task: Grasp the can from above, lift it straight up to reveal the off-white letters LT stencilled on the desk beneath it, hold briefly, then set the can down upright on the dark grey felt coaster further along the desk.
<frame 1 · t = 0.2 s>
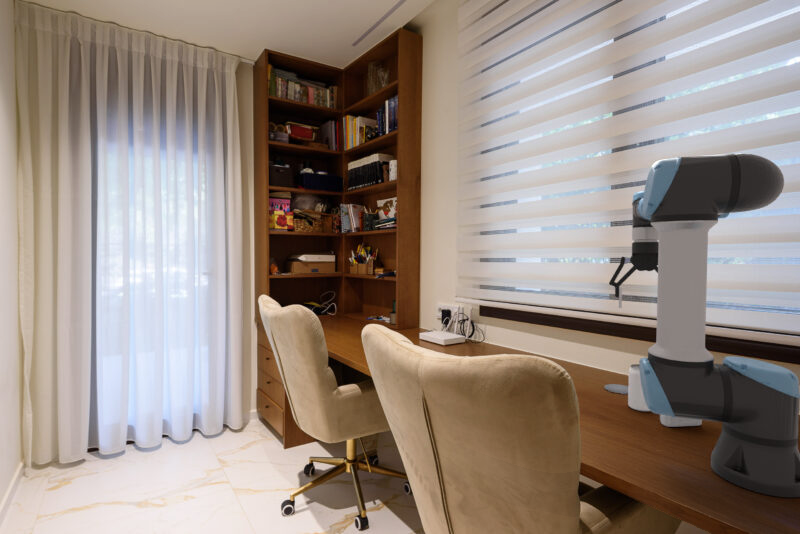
hand: (644, 308, 135), 27 cm above the table, tool pointing down, fingers open, 13 cm apart
photo printer: (680, 425, 112), on the table
can: (640, 408, 124), on the table, touching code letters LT
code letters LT: (640, 408, 124), on the table
felt coaster: (619, 389, 140), on the table
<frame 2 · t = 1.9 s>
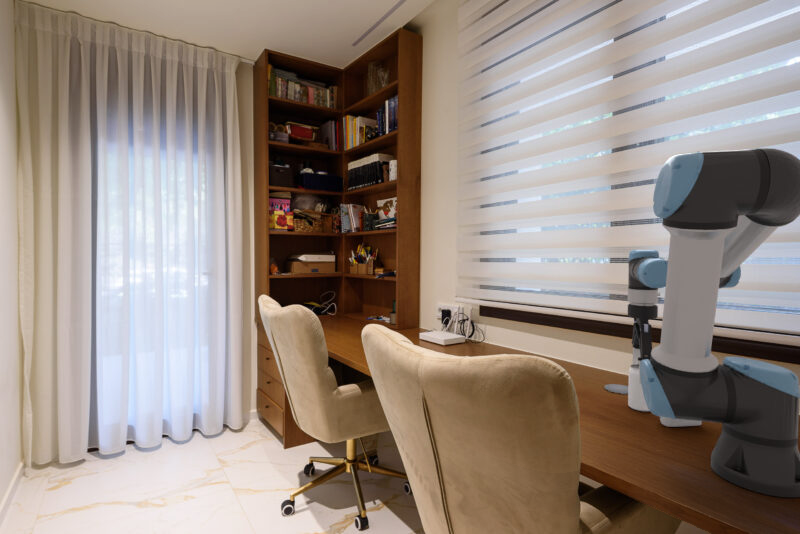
hand: (641, 376, 124), 9 cm above the table, tool pointing down, fingers open, 13 cm apart
nothing on the table moved.
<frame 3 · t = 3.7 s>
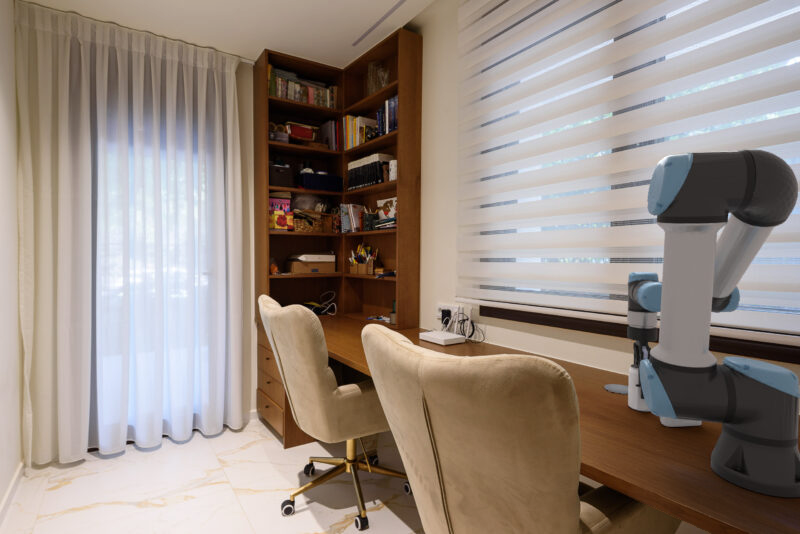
hand: (640, 405, 124), 1 cm above the table, tool pointing down, fingers closed on can, 6 cm apart
can: (640, 408, 124), on the table, touching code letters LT, gripper
everything else where it was.
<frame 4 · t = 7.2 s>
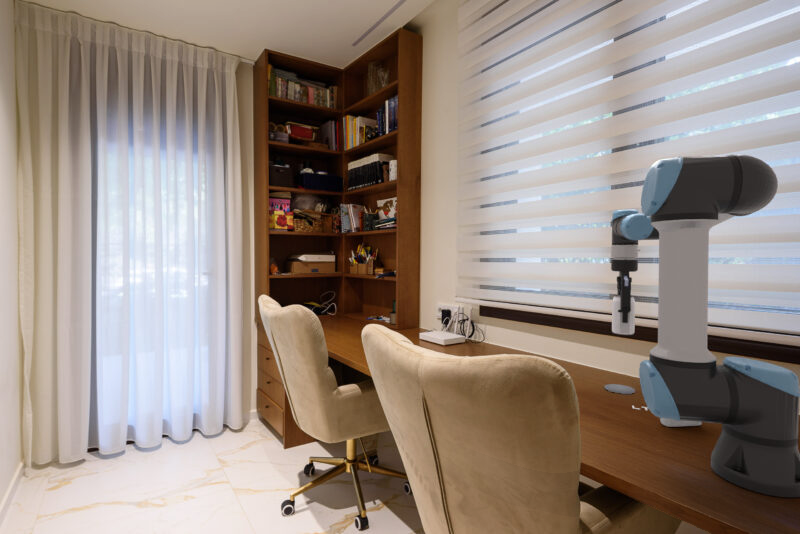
hand: (623, 330, 137), 20 cm above the table, tool pointing down, fingers closed on can, 6 cm apart
can: (623, 333, 137), point 19 cm above the table, touching gripper
everything else where it was.
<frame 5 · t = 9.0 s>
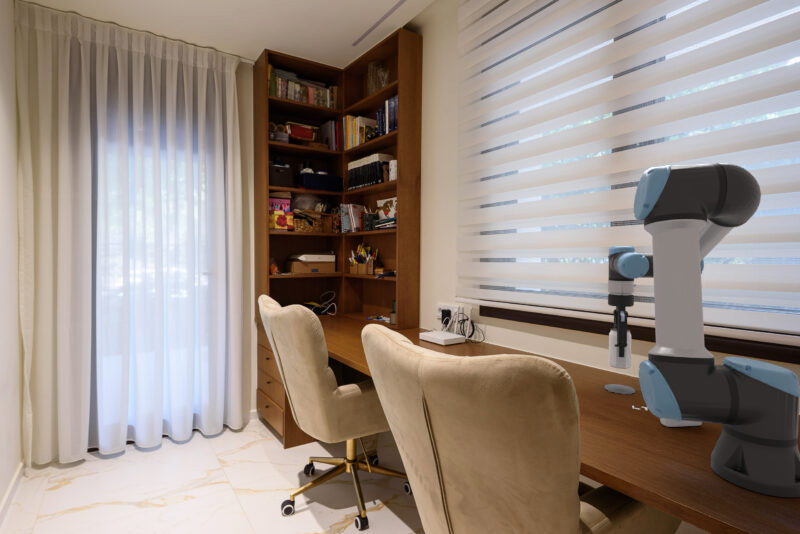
hand: (619, 363, 140), 9 cm above the table, tool pointing down, fingers closed on can, 6 cm apart
can: (619, 366, 140), point 8 cm above the table, touching gripper
everything else where it was.
when the fingers open (3 cm above the table, at t = 10.7 s): can drops 2 cm, resting on felt coaster.
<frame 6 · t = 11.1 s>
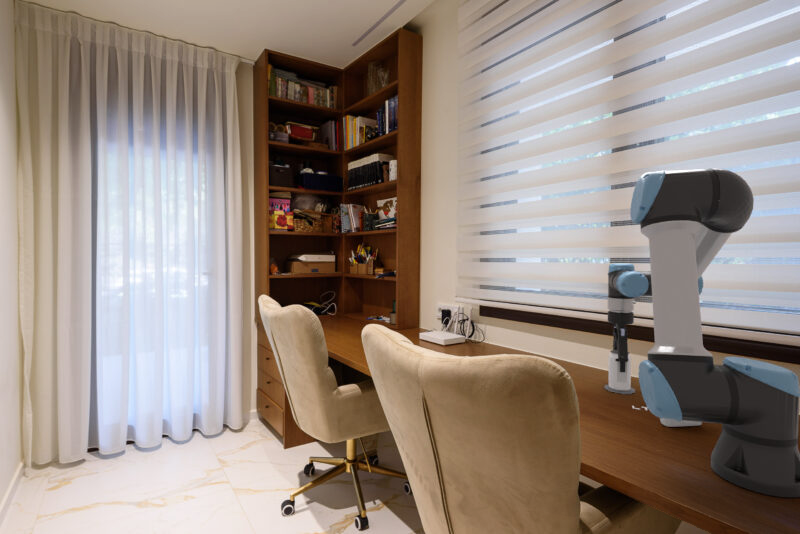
hand: (619, 376, 140), 5 cm above the table, tool pointing down, fingers open, 12 cm apart
can: (619, 388, 140), resting on felt coaster
everything else where it was.
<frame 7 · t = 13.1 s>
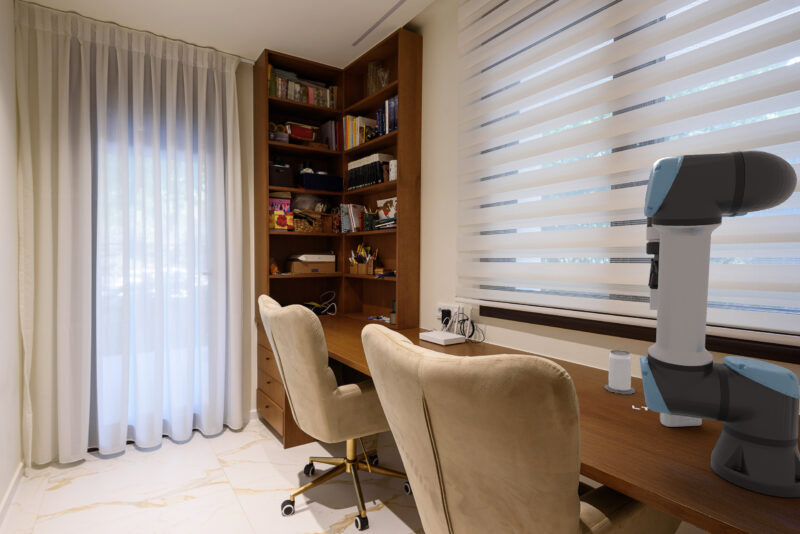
hand: (659, 312, 129), 27 cm above the table, tool pointing down, fingers open, 13 cm apart
nothing on the table moved.
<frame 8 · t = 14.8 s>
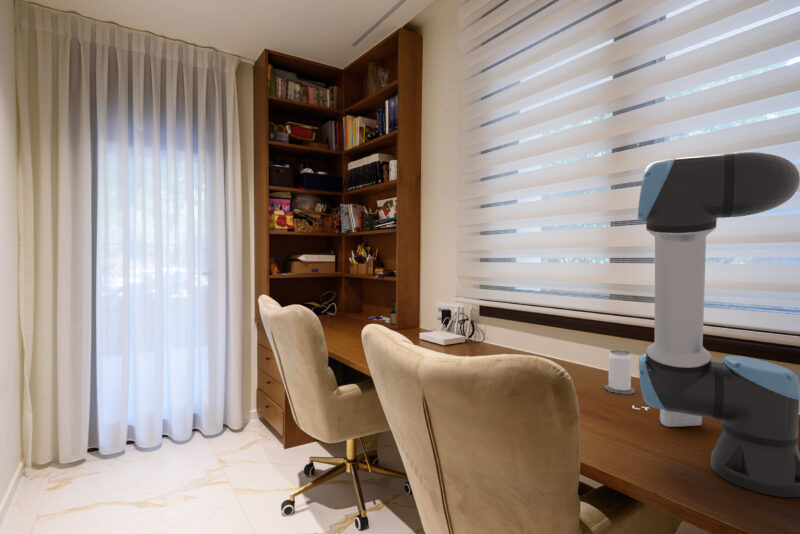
hand: (682, 298, 124), 32 cm above the table, tool pointing down, fingers open, 13 cm apart
nothing on the table moved.
at the end: can 0.1 cm from the felt coaster (horizontally); can tilted 0°; the gripper is holding nothing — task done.
